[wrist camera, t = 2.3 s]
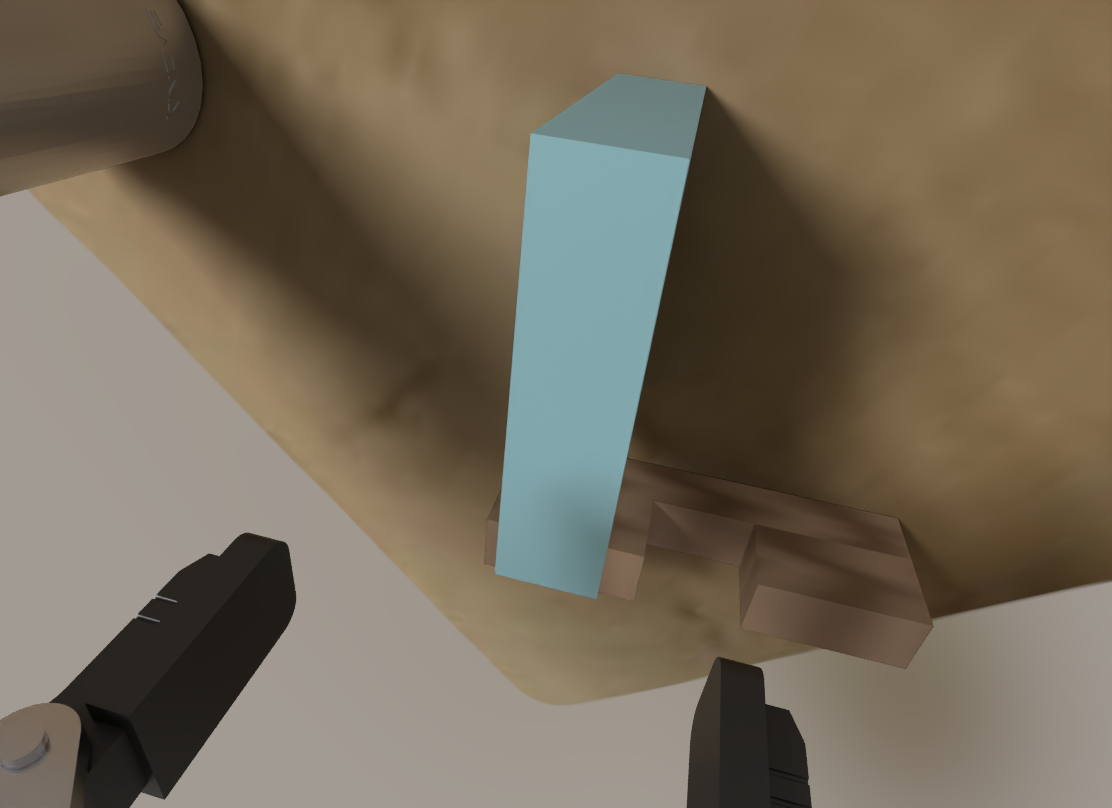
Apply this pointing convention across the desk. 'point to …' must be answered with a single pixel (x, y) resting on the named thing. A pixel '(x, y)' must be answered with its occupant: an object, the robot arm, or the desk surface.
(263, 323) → the desk surface
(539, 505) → the teal notched plate
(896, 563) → the walnut slotted board
